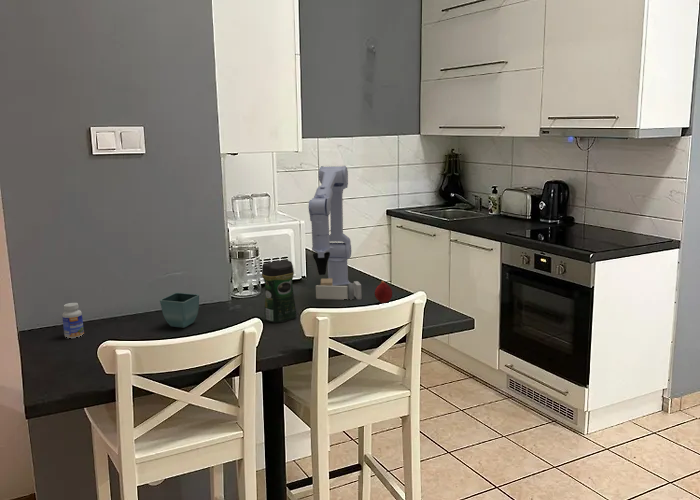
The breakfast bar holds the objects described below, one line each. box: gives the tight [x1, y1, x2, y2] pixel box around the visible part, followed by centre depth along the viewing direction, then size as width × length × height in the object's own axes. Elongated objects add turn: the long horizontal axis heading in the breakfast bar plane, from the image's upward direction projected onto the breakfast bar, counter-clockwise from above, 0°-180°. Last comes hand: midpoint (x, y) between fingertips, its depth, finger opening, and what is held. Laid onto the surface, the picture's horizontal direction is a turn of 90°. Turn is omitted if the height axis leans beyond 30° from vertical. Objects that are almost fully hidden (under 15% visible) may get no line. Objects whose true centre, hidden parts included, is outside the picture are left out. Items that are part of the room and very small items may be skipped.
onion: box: [374, 280, 393, 304], centre depth 217 cm, size 6×6×8 cm
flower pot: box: [159, 292, 200, 329], centre depth 201 cm, size 9×9×9 cm
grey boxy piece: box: [347, 280, 362, 301], centre depth 226 cm, size 5×4×6 cm
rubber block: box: [320, 278, 333, 286], centre depth 230 cm, size 6×4×6 cm, turn 1°
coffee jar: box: [261, 259, 297, 323], centre depth 204 cm, size 10×8×19 cm
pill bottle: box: [61, 302, 85, 339], centre depth 194 cm, size 5×5×10 cm
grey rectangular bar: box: [315, 284, 349, 300], centre depth 226 cm, size 11×2×4 cm, turn 79°
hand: (322, 274), depth 220 cm, fingers closed
